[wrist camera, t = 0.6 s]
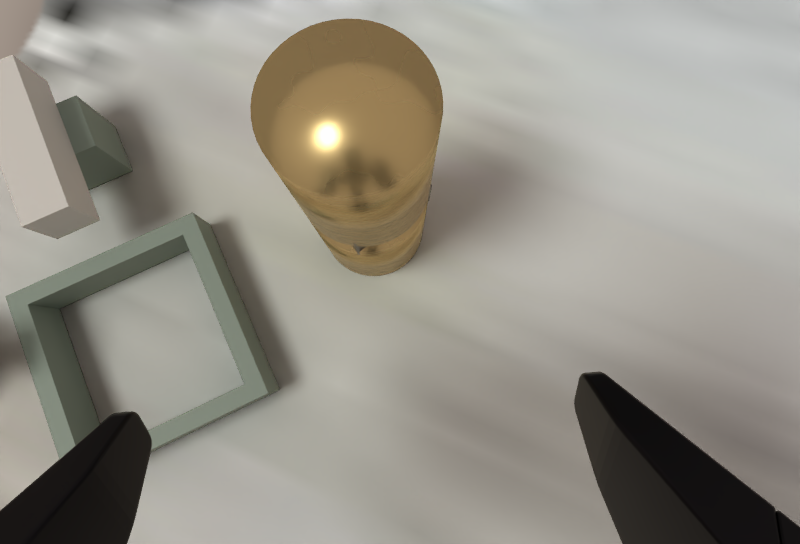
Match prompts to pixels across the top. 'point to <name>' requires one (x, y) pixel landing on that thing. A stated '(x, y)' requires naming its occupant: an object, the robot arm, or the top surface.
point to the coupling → (353, 136)
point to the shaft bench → (74, 209)
